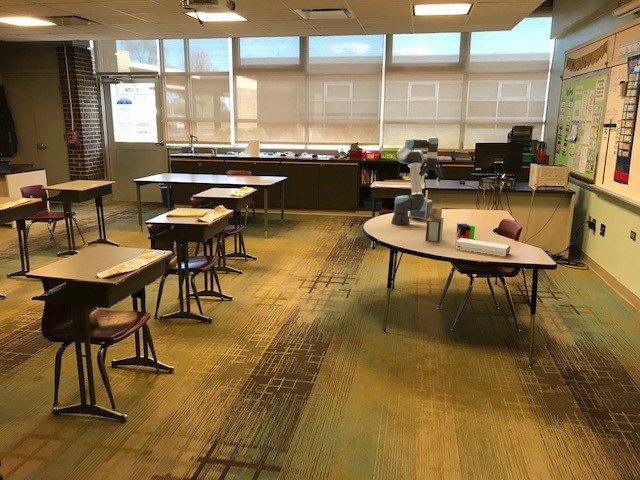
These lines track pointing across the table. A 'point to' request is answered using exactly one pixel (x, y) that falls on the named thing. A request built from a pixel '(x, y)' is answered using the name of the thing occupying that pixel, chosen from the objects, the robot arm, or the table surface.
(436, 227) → the protein box
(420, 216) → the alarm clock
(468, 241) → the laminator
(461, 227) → the puzzle toy
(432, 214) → the walnut block
